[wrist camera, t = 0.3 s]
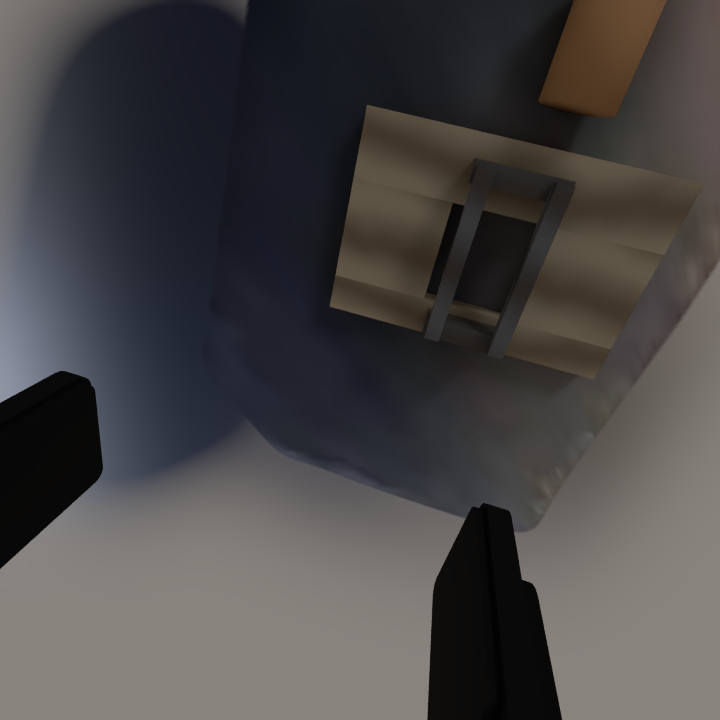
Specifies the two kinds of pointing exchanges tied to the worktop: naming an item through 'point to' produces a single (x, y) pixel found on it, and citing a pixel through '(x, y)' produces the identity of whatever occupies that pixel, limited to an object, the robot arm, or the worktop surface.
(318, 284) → the worktop surface
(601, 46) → the tan cylinder
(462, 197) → the wooden plate
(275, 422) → the worktop surface
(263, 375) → the worktop surface
